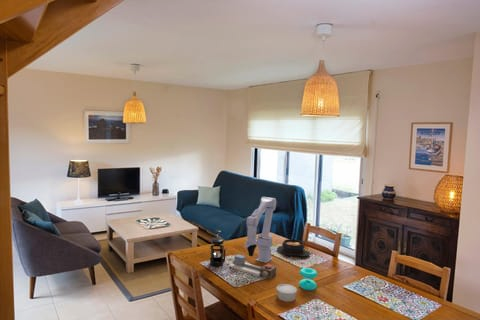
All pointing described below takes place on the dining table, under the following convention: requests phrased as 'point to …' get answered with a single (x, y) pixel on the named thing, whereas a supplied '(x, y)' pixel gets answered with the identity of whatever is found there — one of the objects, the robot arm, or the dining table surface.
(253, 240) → the robot arm
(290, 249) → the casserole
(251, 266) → the rail
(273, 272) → the cabinet
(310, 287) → the donuts
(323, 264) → the dining table surface
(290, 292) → the ramekin
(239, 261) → the carriage
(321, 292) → the dining table surface
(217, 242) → the french press
